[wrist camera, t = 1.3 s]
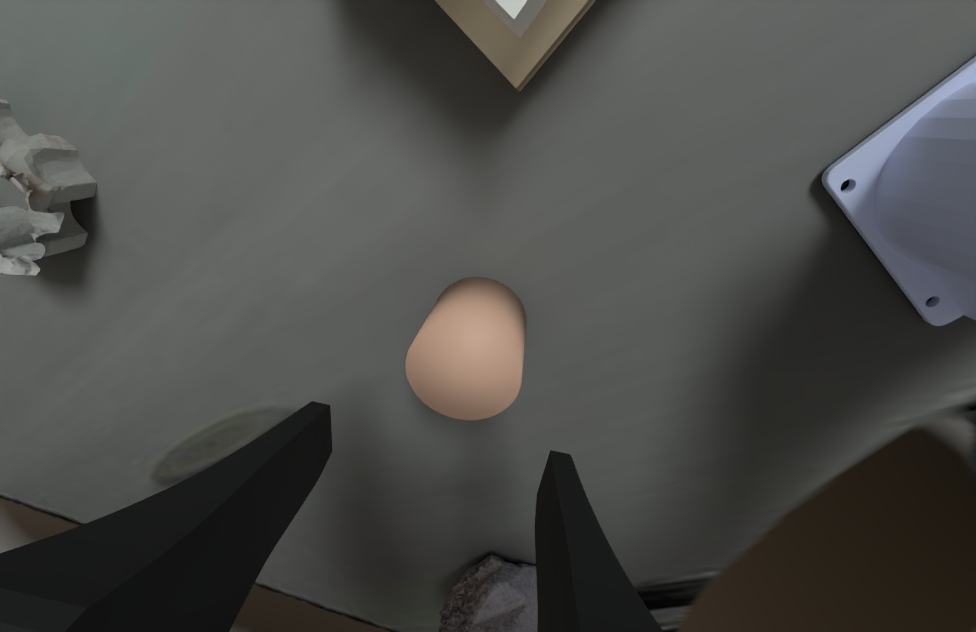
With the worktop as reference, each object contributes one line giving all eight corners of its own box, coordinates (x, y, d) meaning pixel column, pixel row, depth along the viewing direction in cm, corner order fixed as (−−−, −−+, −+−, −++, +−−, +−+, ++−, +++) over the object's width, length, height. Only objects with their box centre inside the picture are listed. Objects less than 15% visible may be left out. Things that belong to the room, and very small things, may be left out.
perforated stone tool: (652, 597, 30) (680, 720, 24) (615, 627, 33) (631, 746, 26) (472, 526, 29) (453, 636, 23) (448, 562, 31) (424, 671, 25)
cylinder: (546, 322, 21) (546, 377, 16) (482, 375, 23) (467, 437, 18) (476, 257, 20) (456, 298, 15) (416, 319, 22) (383, 371, 17)
